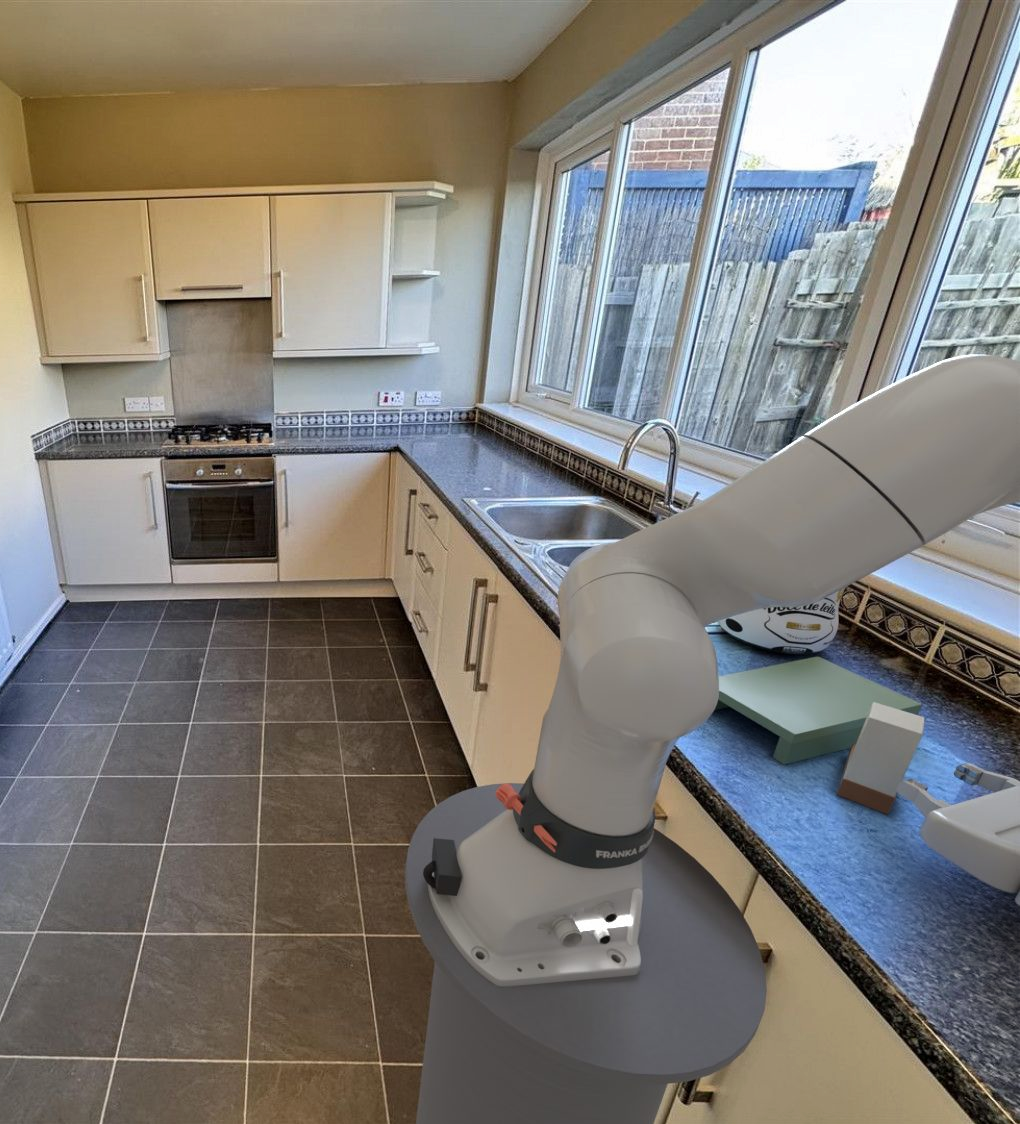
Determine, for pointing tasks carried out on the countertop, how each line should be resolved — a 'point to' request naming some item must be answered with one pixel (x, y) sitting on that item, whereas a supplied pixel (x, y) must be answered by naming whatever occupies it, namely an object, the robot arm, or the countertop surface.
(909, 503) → the robot arm
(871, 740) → the grey-brown block
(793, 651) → the doce de leite container
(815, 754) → the shoe shelf
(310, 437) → the countertop surface
